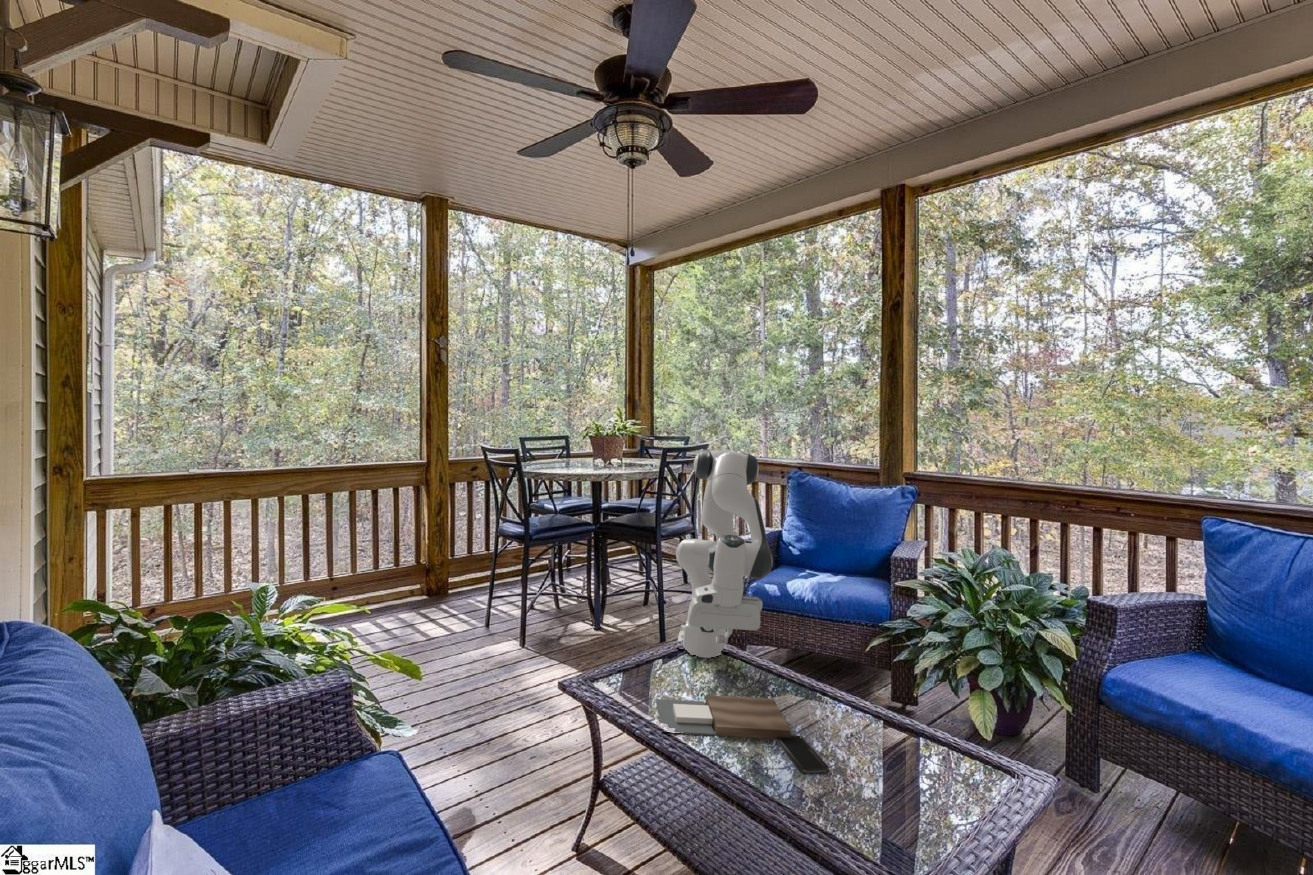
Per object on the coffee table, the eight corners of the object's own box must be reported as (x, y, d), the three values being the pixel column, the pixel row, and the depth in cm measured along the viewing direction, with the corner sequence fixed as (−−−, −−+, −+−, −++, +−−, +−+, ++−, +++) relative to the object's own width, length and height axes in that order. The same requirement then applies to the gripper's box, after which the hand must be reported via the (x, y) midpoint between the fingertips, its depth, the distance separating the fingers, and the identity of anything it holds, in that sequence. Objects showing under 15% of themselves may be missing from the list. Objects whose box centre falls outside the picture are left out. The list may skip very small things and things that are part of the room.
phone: (802, 771, 146) (775, 736, 160) (801, 776, 146) (774, 740, 160) (831, 769, 148) (801, 735, 162) (830, 774, 148) (801, 739, 162)
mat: (656, 700, 175) (656, 698, 175) (703, 703, 176) (704, 701, 176) (661, 732, 158) (661, 731, 158) (714, 735, 159) (714, 733, 159)
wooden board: (705, 703, 176) (706, 695, 176) (772, 707, 178) (773, 698, 178) (715, 735, 159) (716, 726, 159) (789, 739, 161) (790, 730, 161)
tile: (672, 709, 170) (673, 703, 170) (707, 710, 171) (708, 705, 171) (675, 722, 163) (676, 716, 163) (712, 724, 164) (712, 718, 164)
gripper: (760, 593, 172) (755, 640, 173) (689, 588, 171) (684, 635, 172) (765, 601, 166) (760, 649, 167) (692, 596, 164) (687, 645, 166)
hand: (721, 642), depth 169 cm, fingers closed
